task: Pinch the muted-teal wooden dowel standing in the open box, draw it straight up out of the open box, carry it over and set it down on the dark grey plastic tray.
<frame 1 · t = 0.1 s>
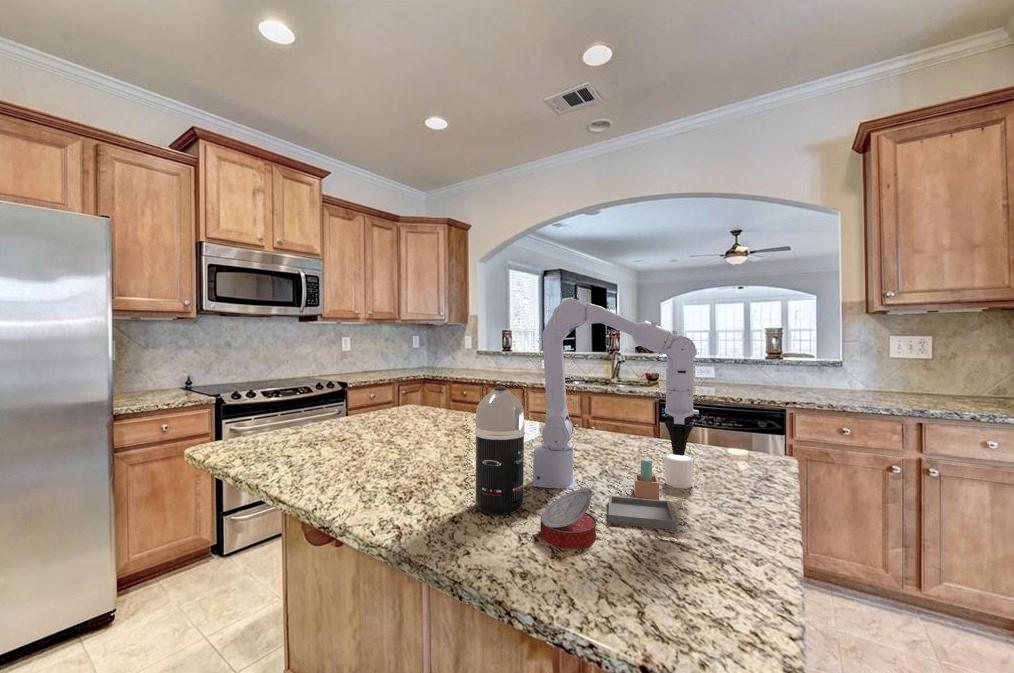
hand: (678, 450, 97), 10 cm above the countertop, fingers open, 7 cm apart
tray: (640, 517, 84), on the countertop
canned food: (567, 537, 77), on the countertop
pin: (646, 494, 96), resting on open box
open box: (646, 496, 96), on the countertop
white short cylinder: (678, 486, 102), on the countertop
black bottle: (499, 507, 89), on the countertop
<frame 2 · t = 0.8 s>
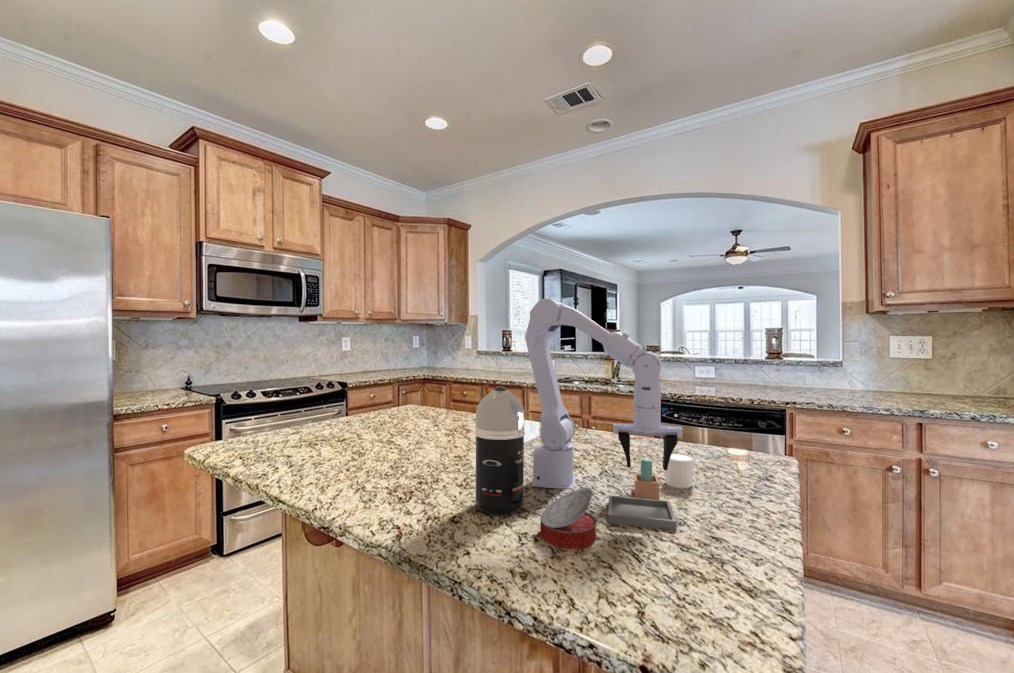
hand: (646, 467, 96), 6 cm above the countertop, fingers open, 7 cm apart
nothing on the countertop moved.
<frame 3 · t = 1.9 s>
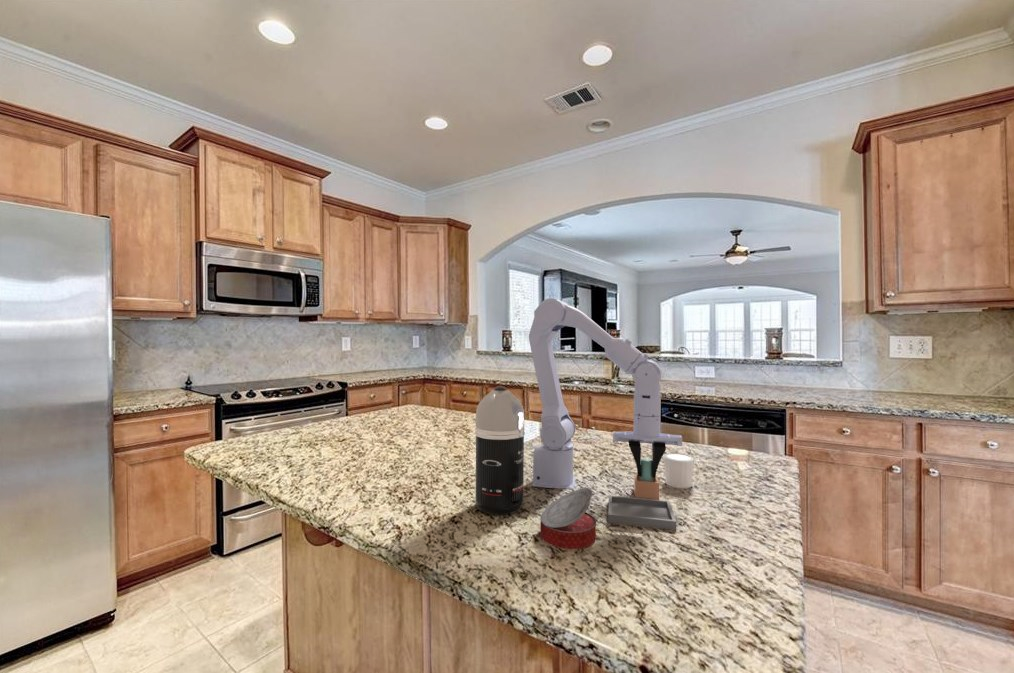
hand: (646, 475, 96), 5 cm above the countertop, fingers closed on pin, 2 cm apart
pin: (646, 494, 96), resting on open box, touching gripper
everything else where it was.
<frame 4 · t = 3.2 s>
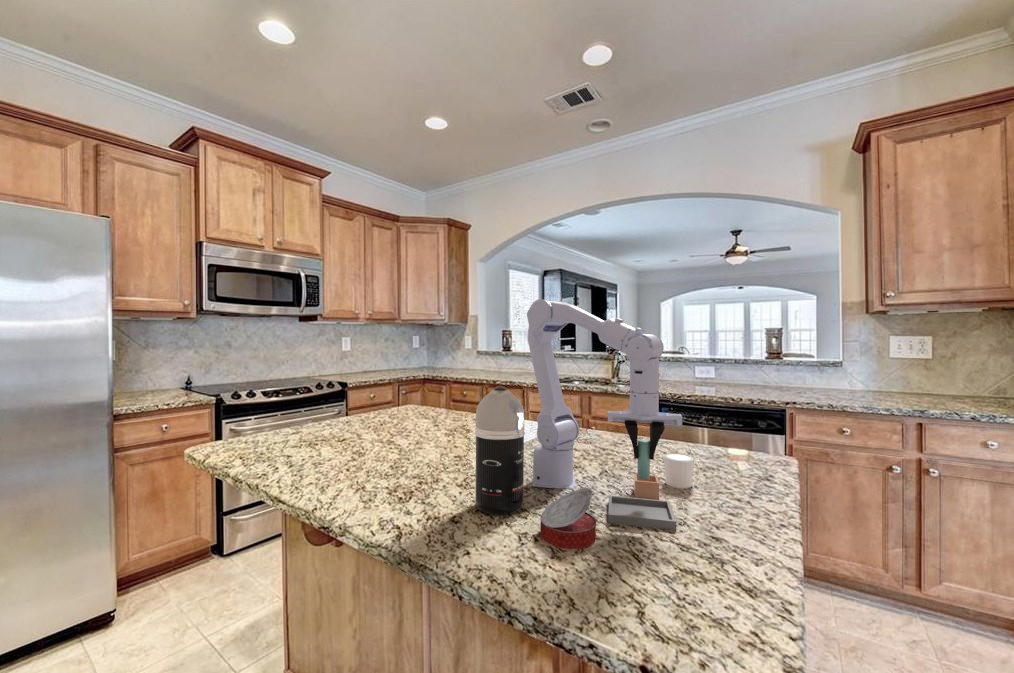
hand: (643, 457, 89), 10 cm above the countertop, fingers closed on pin, 2 cm apart
pin: (643, 477, 89), point 6 cm above the countertop, touching gripper
everything else where it was.
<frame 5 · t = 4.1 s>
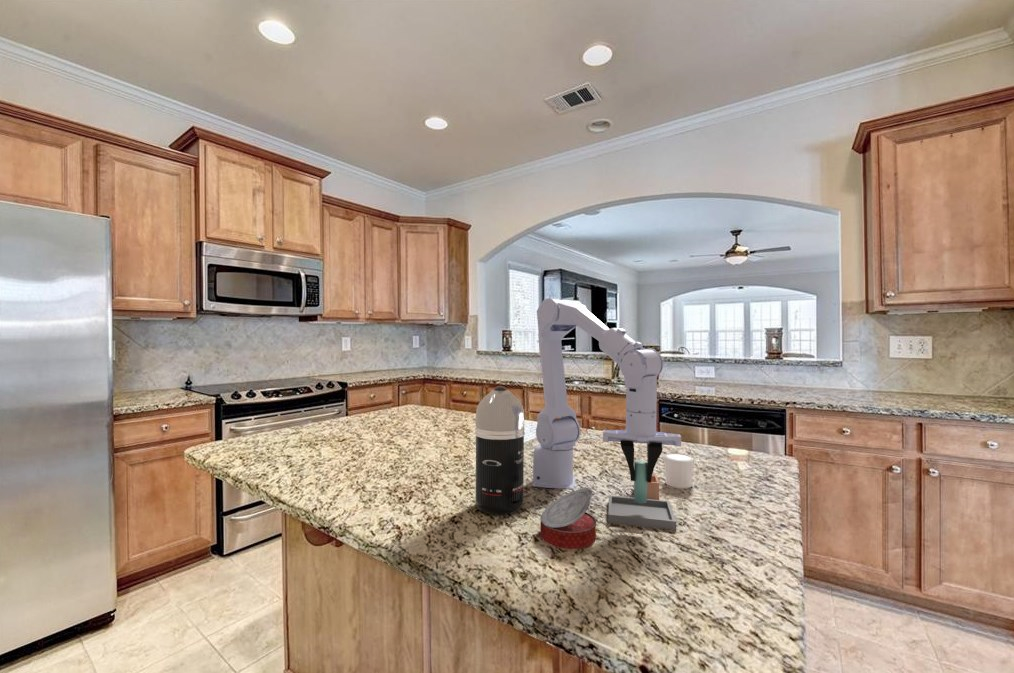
hand: (640, 480, 84), 7 cm above the countertop, fingers closed on pin, 2 cm apart
pin: (640, 500, 84), point 3 cm above the countertop, touching gripper
everything else where it was.
when the fingers open (6 cm above the countertop, at t = 4.5 s): pin drops 1 cm, resting on tray.
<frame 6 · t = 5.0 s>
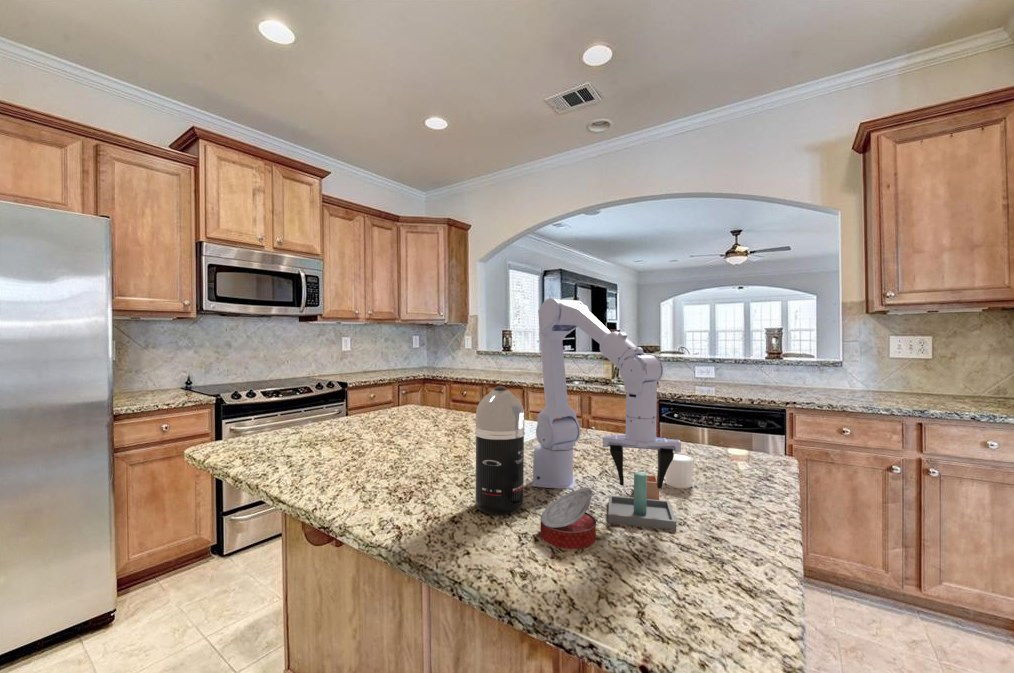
hand: (640, 485, 84), 6 cm above the countertop, fingers open, 6 cm apart
pin: (640, 512, 84), point 1 cm above the countertop, touching tray
everything else where it was.
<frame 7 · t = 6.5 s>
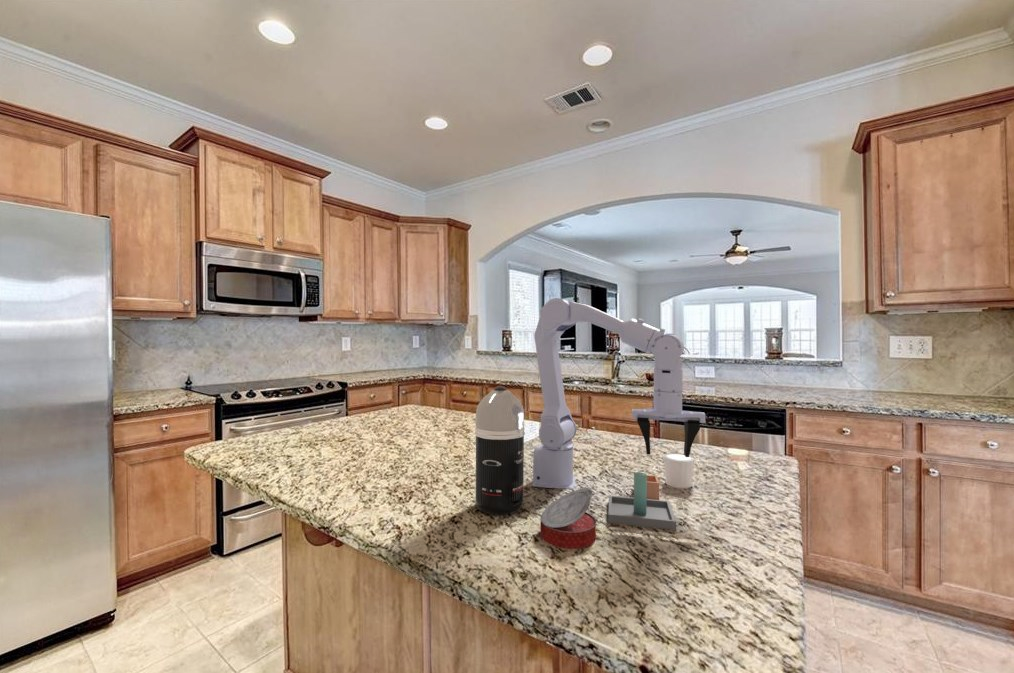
hand: (667, 454, 92), 10 cm above the countertop, fingers open, 7 cm apart
nothing on the countertop moved.
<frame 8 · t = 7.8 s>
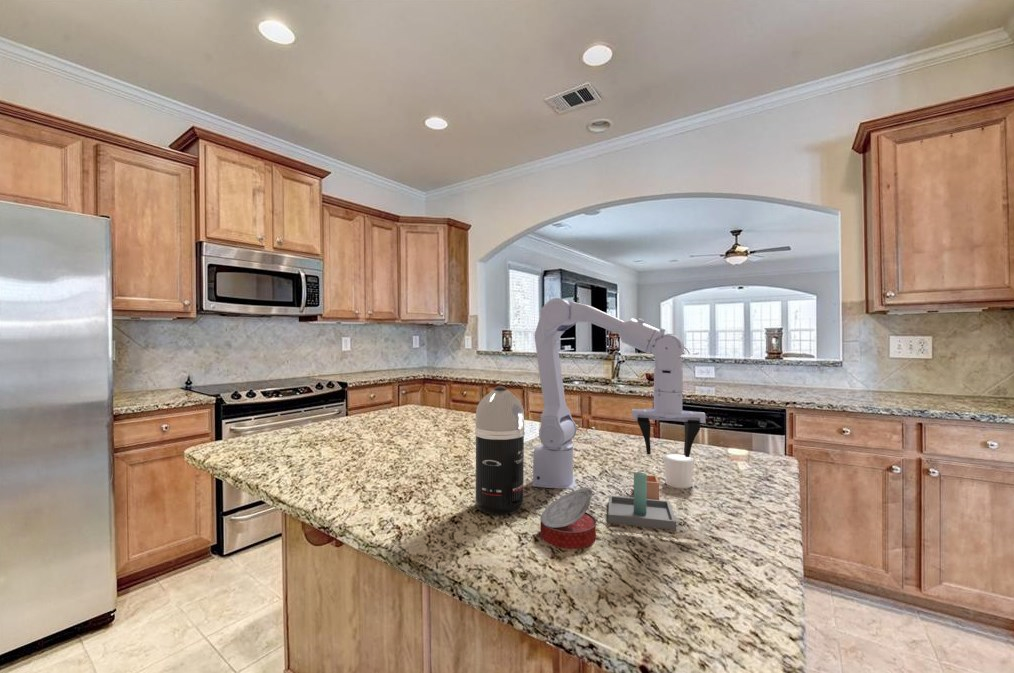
hand: (667, 454, 92), 10 cm above the countertop, fingers open, 7 cm apart
nothing on the countertop moved.
at the end: pin inside the target area on the tray (0.0 cm from its centre), point 1.0 cm above the tray's base; the gripper is holding nothing; pin touching tray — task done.
